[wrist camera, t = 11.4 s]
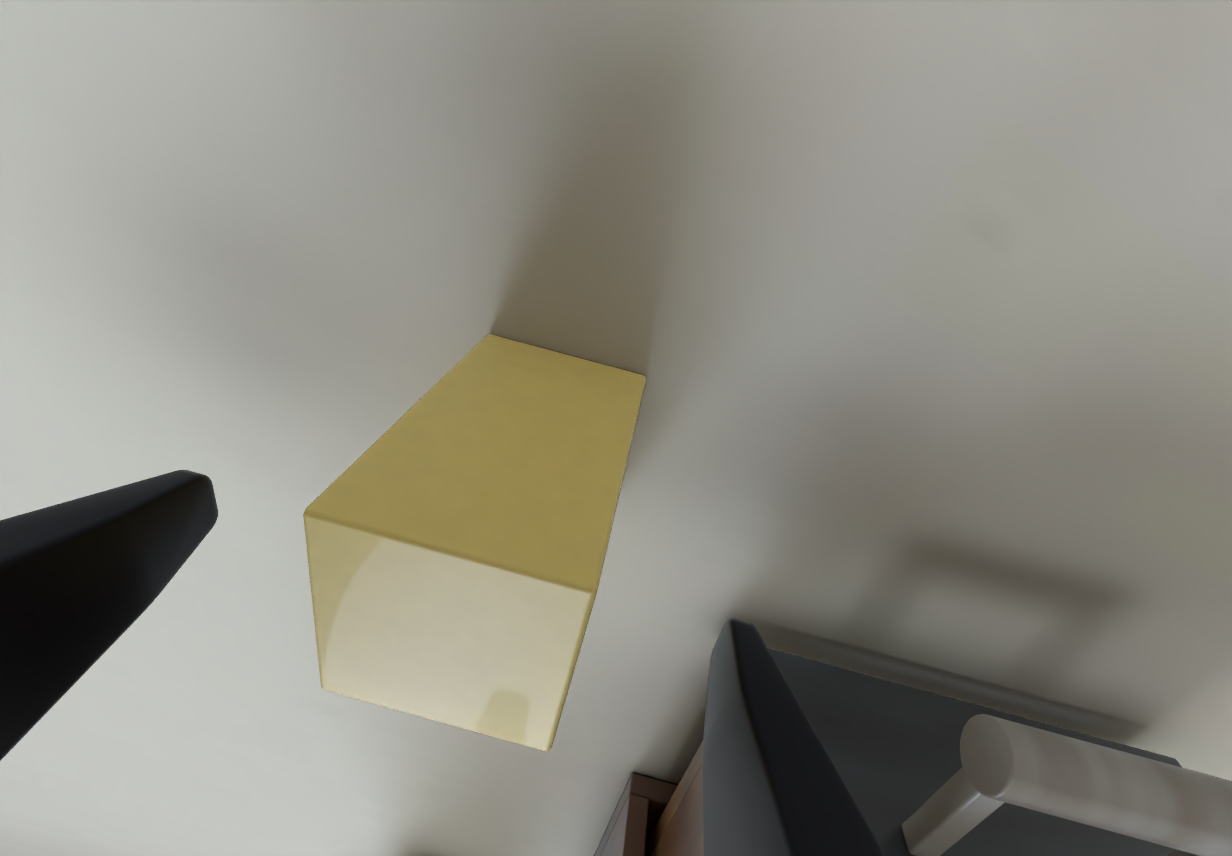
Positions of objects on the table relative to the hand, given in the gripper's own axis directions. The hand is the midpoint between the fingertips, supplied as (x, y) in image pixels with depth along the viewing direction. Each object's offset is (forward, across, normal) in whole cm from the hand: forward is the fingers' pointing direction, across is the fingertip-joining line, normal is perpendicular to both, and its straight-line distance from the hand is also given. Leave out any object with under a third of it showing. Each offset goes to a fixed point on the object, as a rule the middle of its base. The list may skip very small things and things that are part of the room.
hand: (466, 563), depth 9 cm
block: (+6, 0, 0) cm, 6 cm away
